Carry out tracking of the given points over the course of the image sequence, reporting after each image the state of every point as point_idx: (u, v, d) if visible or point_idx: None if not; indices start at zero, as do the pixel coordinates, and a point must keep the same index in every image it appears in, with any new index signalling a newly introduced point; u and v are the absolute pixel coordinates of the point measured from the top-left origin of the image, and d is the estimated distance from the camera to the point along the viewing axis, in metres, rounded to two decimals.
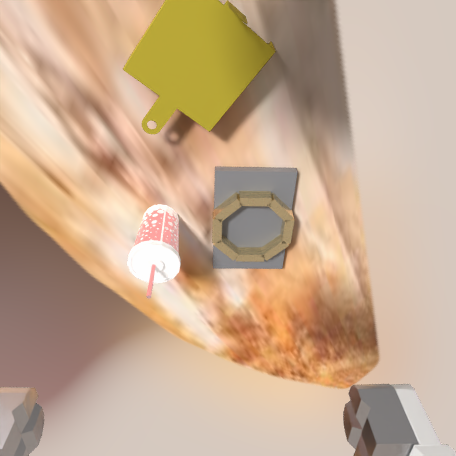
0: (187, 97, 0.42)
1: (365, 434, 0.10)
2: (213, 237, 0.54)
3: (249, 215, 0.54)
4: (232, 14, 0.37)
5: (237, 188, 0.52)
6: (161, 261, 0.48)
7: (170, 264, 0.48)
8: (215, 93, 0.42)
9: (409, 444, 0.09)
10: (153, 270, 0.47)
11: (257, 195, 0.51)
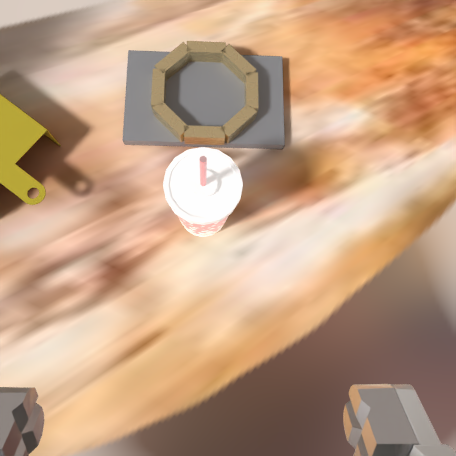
0: (3, 151, 0.37)
1: (365, 435, 0.10)
2: (215, 136, 0.40)
3: (191, 99, 0.42)
4: None
5: (149, 115, 0.41)
6: (196, 172, 0.32)
7: None
8: (1, 122, 0.38)
9: (409, 444, 0.09)
10: None
11: None
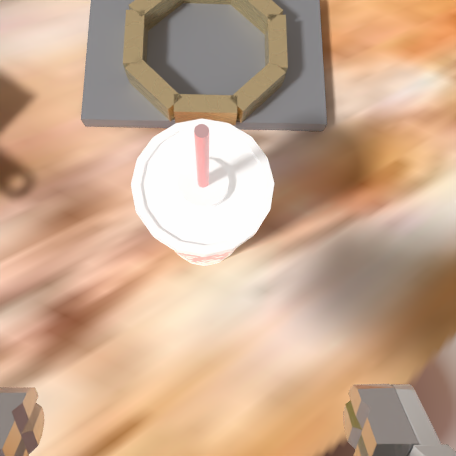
0: None
1: (365, 435, 0.10)
2: (221, 110, 0.26)
3: (184, 58, 0.28)
4: None
5: (121, 81, 0.27)
6: None
7: None
8: None
9: (409, 444, 0.09)
10: None
11: None
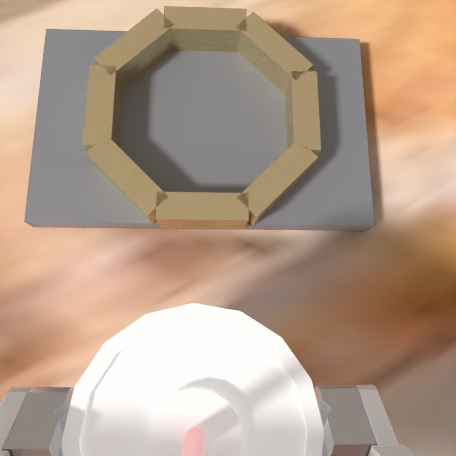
0: None
1: (325, 435, 0.10)
2: (226, 216, 0.17)
3: (174, 130, 0.20)
4: None
5: (84, 165, 0.19)
6: (171, 395, 0.10)
7: (199, 351, 0.10)
8: None
9: (367, 445, 0.09)
10: (184, 446, 0.09)
11: None
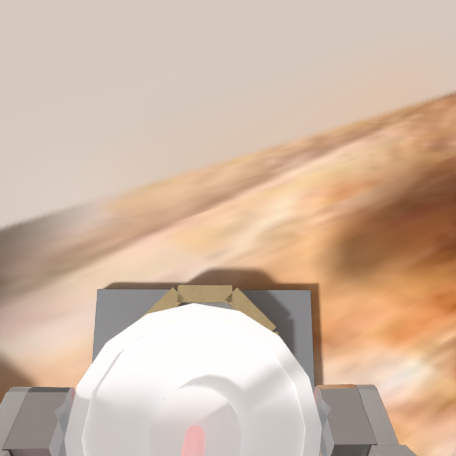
0: None
1: (325, 435, 0.10)
2: None
3: None
4: None
5: None
6: (172, 393, 0.10)
7: (199, 350, 0.10)
8: None
9: (367, 445, 0.09)
10: (184, 443, 0.09)
11: None
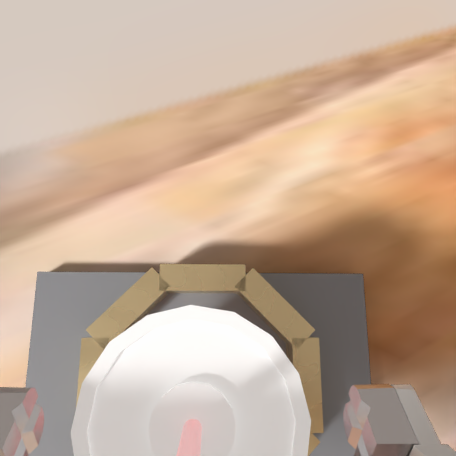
0: None
1: (365, 435, 0.10)
2: None
3: None
4: None
5: None
6: (171, 389, 0.11)
7: (196, 349, 0.11)
8: None
9: (409, 444, 0.09)
10: (182, 435, 0.09)
11: None
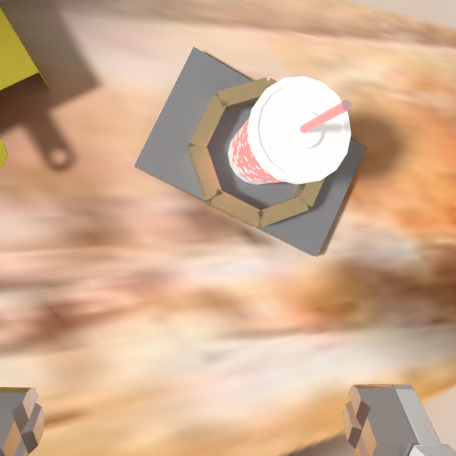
0: None
1: (365, 434, 0.10)
2: (247, 219, 0.31)
3: None
4: None
5: (181, 147, 0.31)
6: None
7: (315, 101, 0.24)
8: None
9: (409, 444, 0.09)
10: (308, 121, 0.22)
11: (201, 117, 0.30)
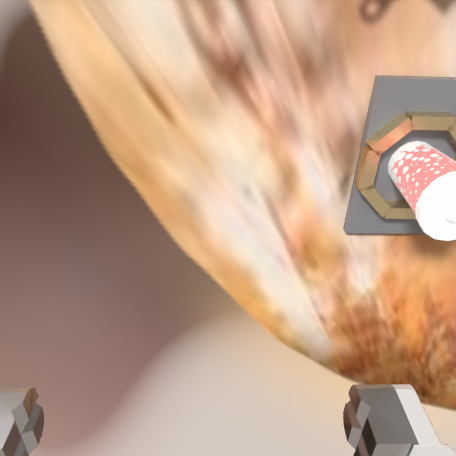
0: None
1: (365, 434, 0.10)
2: (363, 180, 0.39)
3: None
4: None
5: (403, 106, 0.37)
6: None
7: None
8: None
9: (409, 444, 0.09)
10: None
11: (434, 114, 0.37)
